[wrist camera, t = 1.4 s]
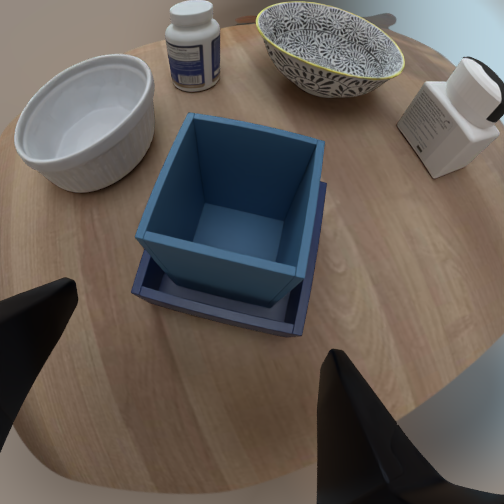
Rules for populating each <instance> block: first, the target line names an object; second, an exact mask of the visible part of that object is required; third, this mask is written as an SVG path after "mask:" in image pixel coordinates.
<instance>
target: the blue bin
mask: <svg viewBox="0 0 504 504" xmlns="http://www.w3.org/2000/svg"><path fill="white" fill-rule="evenodd" d="M324 146H325V141H322V140H317V139H315V138H311V137H308V136H304V135H300V134H296V133H292V132H288V131H284V130H280V129H276V128H271V127H267V126H262V125H258V124H253V123H248V122H243V121H238V120H233V119H227V118H222V117H216V116H210V115H203V114H195V113H190V112H189V113H188V114H187V116H186V118H185V120H184V122H183V124H182V126H181V128H180V130H179V132H178V135H177V137H176V139H175V141H174V143H173V145H172V147H171V149H170V152H169V154H168V156H167V158H166V160H165V163H164V165H163V167H162V169H161V172H160V174H159V176H158V179H157V181H156V183H155V186H154V188H153V191H152V193H151V195H150V198H149V200H148V203H147V206H146V208H145V211H144V213H143V216H142V219H141V221H140V224H139V227H138V229H137V232H136V235H135V238H136V239H137V240H138V242H139V243H140V244H141V245H142V246H143V248H144V249H145V250H146V251H147V252H148V254H149V255H150V256H151V257H152V258H153V259H154V261H155V262H156V263H157V264H158V265H159V266H160V267H161V269H162V270H163V271H164V272H165V273H166V274H167V275H168V277H169V278H170V279H171V280H172V281H173V282H174V283H175V284H176V285H177V286H181V287H185V288H188V289H192V290H196V291H200V292H204V293H208V294H212V295H216V296H220V297H224V298H228V299H232V300H236V301H240V302H244V303H249V304H253V305H257V306H261V307H266V308H271V307H273V306H274V305H275V304H276V303H277V302H278V301H280V300H281V299H282V298H283V297H284V296H285V295H286V294H288V293H289V292H290V291H291V290H292V289H293V288H294V287H296V286H297V285H298V284H299V283H300V282H301V281H302V280H303V279H304V278H305V274H306V269H307V263H308V257H309V251H310V245H311V239H312V233H313V227H314V220H315V214H316V207H317V200H318V193H319V186H320V178H321V171H322V163H323V154H324Z"/></svg>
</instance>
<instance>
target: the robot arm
mask: <svg viewBox="0 0 504 504" xmlns="http://www.w3.org/2000/svg"><path fill="white" fill-rule="evenodd" d="M77 304H78V294H77V288H76V283H75V281H74V280H72V279H69V278H66V277H65V278H62V279H59V280H56V281H53V282H50V283H48V284H45V285H42V286H39V287H37V288H34V289H31V290H28V291H26V292H23V293H20V294H18V295H15V296H12V297H10V298H7V299H4V300H2V301H0V452H1V450H2V447H3V445H4V443H5V440H6V438H7V436H8V434H9V431H10V429H11V427H12V425H13V422H14V420H15V418H16V416H17V414H18V412H19V410H20V408H21V406H22V404H23V402H24V400H25V398H26V396H27V394H28V393H29V391H30V389H31V387H32V385H33V383H34V381H35V380H36V378H37V376H38V374H39V372H40V371H41V369H42V367H43V365H44V364H45V362H46V360H47V359H48V357H49V355H50V354H51V352H52V350H53V349H54V347H55V345H56V344H57V342H58V340H59V339H60V337H61V335H62V333H63V331H64V329H65V327H66V325H67V323H68V321H69V319H70V317H71V316H72V314H73V312H74V310H75V308H76V306H77ZM317 466H318V467H317V504H504V495H500V494H492V493H488V492H483V491H478V490H474V489H470V488H465V487H462V486H458V485H455V484H452V483H450V482H448V481H447V480H445V479H444V478H443V477H442V476H441V475H440V474H439V473H438V472H437V471H436V470H435V469H434V468H433V467H432V465H431V464H430V463H429V462H428V461H427V460H426V459H425V458H424V457H423V455H421V453H420V452H419V451H418V450H417V448H416V447H415V446H414V445H413V444H412V442H411V441H410V440H409V439H408V437H407V436H406V435H405V433H404V432H403V431H402V429H401V428H400V427H399V425H397V423H396V421H395V420H394V418H393V417H392V416H391V414H390V413H389V412H388V410H387V409H386V407H385V406H384V405H383V403H382V402H381V401H380V399H379V398H378V397H377V395H376V394H375V393H374V391H373V390H372V388H371V387H370V386H369V384H368V383H367V382H366V380H365V379H364V378H363V376H362V375H361V374H360V372H359V371H358V370H357V368H356V367H355V366H354V364H353V363H352V361H351V360H350V359H349V357H348V356H347V355H346V353H345V352H344V351H343V350H338V349H331V350H330V351H329V353H328V355H327V356H326V358H325V360H324V362H323V363H322V366H321V369H320V380H319V392H318V402H317Z"/></svg>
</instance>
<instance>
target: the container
mask: <svg viewBox="0 0 504 504" xmlns="http://www.w3.org/2000/svg"><path fill="white" fill-rule="evenodd" d="M503 115H504V83H503V81H502V80H501V79H500V78H499V77H498V76H497V75H496V74H495V72H493V71H492V70H491V69H490V68H489V67H488V66H487V65H485V64H484V63H482V62H481V61H479V60H476V59H474V58H472V57H463V58H462V60H461V61H460V63H459V64H458V66H457V67H456V68H455V70H454V71H453V73H452V74H451V76H450V77H449V79H448V80H447V82H430V81H426V82H425V83H424V84H423V86H422V87H421V89H420V90H419V92H418V93H417V95H416V96H415V98H414V99H413V101H412V102H411V104H410V105H409V107H408V108H407V110H406V111H405V113H404V114H403V116H402V117H401V119H400V120H399V122H398V123H397V126H398V128H399V129H400V131H401V132H402V133H403V135H404V136H405V137H406V139H407V140H408V142H409V143H410V144H411V146H412V147H413V149H414V150H415V152H416V153H417V154H418V156H419V157H420V159H421V160H422V162H423V163H424V165H425V167H426V168H427V170H428V171H429V173H430V174H431V176H432V177H433V178H438V177H440V176H443V175H445V174H448V173H450V172H453V171H455V170H458V169H461V168H463V167H466V166H467V165H468V164H469V163H470V162H471V161H472V160H474V159H475V158H476V157H477V156H478V155H479V154H480V153H481V152H482V151H483V150H484V149H485V148H486V147H488V146H489V145H490V144H491V143H492V142H493V141H494V140H495V139H496V138H497V137H498V136H499V131H498V129H497V128H496V126H495V125H494V124H495V123H496V122H497V121H498V120H499V119H500V118H501V117H502V116H503Z"/></svg>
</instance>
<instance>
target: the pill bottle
mask: <svg viewBox="0 0 504 504" xmlns="http://www.w3.org/2000/svg"><path fill="white" fill-rule="evenodd" d="M212 17H213V5H212V4H211V3H210V2H208V1H203V0H190V1H185V2H181V3H178V4H176V5H174V6H173V7H172V8H171V9H170V20H171V23H172V24H170V25H169V26H168V28H167V29H166V33H165V39H166V45H167V51H168V58H169V64H170V70H171V76H172V81H173V84H174V85H175V86H176V87H177V88H179V89H181V90H183V91H188V92H195V91H202V90H205V89H208V88H210V87H212V86H213V85H215V84H216V83H217V81H218V80H219V78H220V26H219V24H218V23H217V21H215V20H214V19H212Z"/></svg>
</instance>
